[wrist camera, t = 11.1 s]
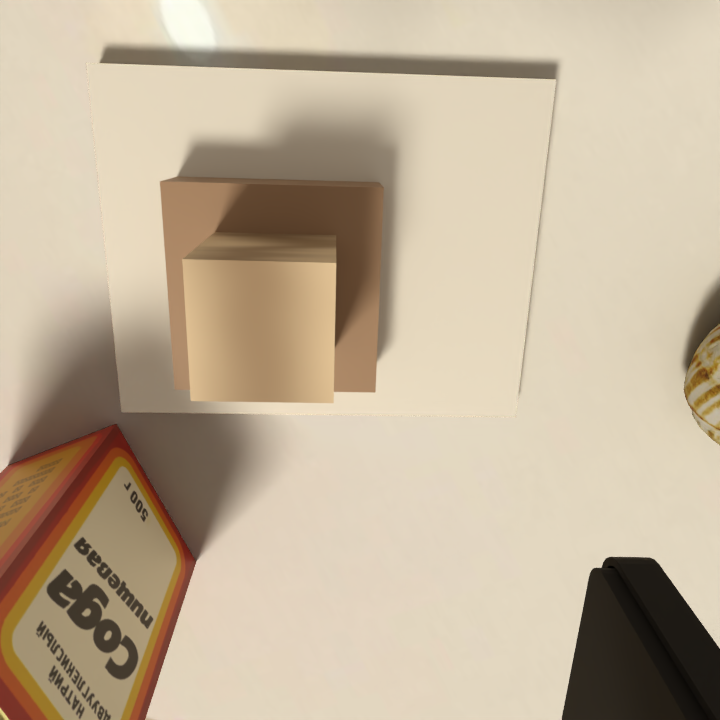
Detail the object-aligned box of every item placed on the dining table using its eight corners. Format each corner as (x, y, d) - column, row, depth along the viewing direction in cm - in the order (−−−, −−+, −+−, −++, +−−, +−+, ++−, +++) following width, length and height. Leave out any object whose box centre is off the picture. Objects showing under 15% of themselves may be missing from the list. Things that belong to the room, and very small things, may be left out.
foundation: (545, 81, 29) (581, 73, 25) (508, 405, 35) (532, 443, 30) (98, 66, 28) (56, 54, 24) (130, 400, 34) (100, 439, 30)
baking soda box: (196, 561, 37) (101, 853, 22) (95, 598, 38) (-64, 906, 23) (116, 423, 34) (-57, 653, 19) (7, 465, 35) (-243, 720, 20)
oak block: (336, 235, 27) (336, 263, 21) (333, 349, 28) (333, 403, 23) (214, 231, 27) (182, 259, 21) (219, 347, 28) (190, 401, 23)
